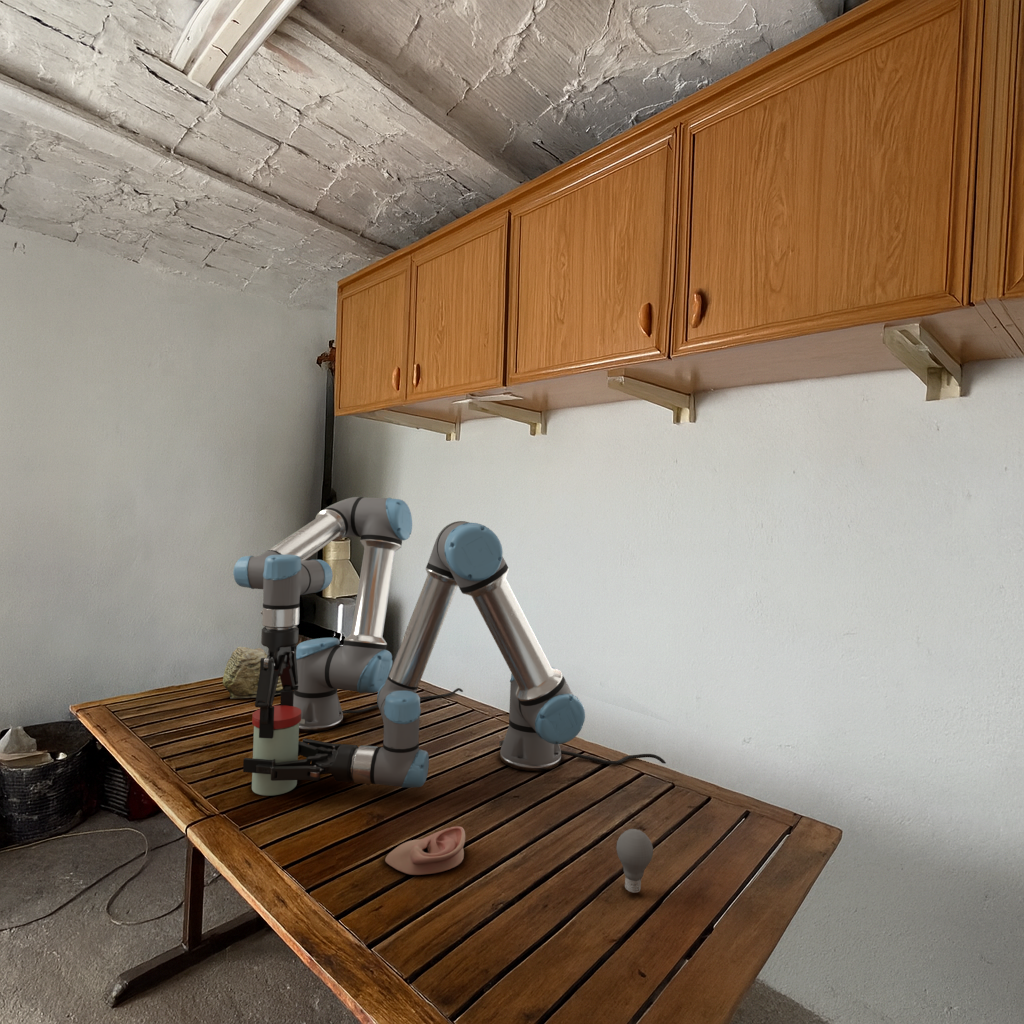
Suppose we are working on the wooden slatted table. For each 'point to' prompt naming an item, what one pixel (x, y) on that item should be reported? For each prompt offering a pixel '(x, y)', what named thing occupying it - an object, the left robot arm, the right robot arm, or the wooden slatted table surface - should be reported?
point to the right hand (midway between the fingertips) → (255, 755)
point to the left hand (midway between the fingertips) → (276, 728)
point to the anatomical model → (429, 853)
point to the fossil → (245, 673)
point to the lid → (281, 716)
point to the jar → (280, 750)
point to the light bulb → (634, 857)
